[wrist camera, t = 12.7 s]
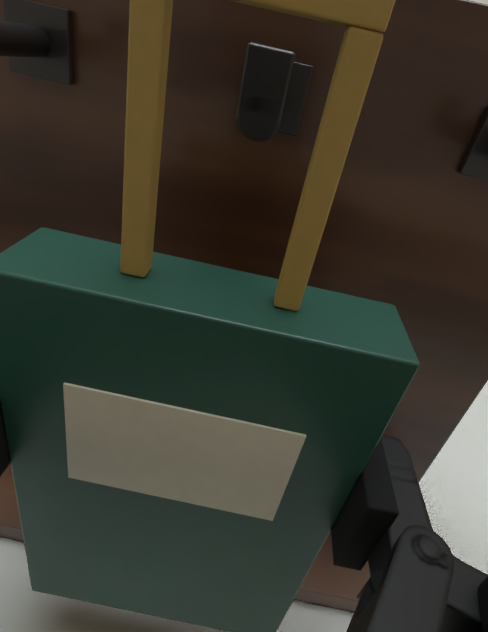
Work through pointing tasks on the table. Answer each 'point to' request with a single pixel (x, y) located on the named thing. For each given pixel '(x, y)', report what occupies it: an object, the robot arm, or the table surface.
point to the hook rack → (273, 174)
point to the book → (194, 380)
